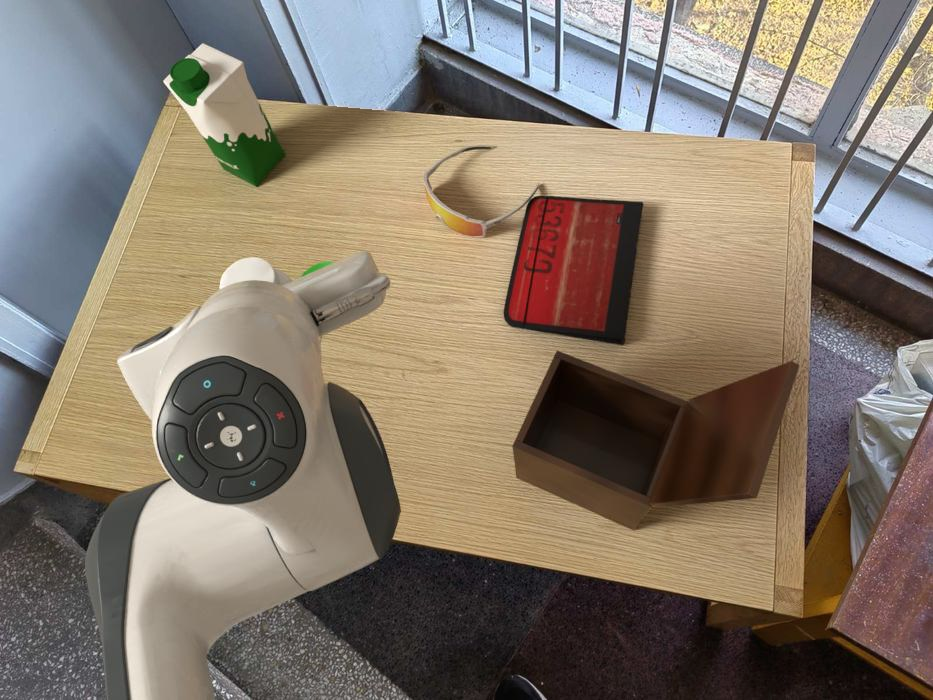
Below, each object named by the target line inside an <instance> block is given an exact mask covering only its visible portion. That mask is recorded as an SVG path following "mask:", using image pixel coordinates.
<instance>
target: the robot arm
mask: <svg viewBox="0 0 933 700" xmlns="http://www.w3.org/2000/svg"><path fill="white" fill-rule="evenodd" d="M333 262H334V263H332V264H330V265H327V266H325V267H323V268H321V269H319V270H316V271H314V272H312V273H310V274H307V275H305V276H303V277H301V276H300V277H299V278H296V279H294V280H292V282H289V283H287V284H285V285H283V286H281V285H278V284H276V283H272V282H268V281H260V280H248V281H241V282H237V283H234V284H231V285H228V286H226V287H224V288H222V289H220V288H219V289H218V290H217V291H215V292H214V293H213V294H212V295H210V297H208V299H206V300H205V302H203V304H202V305H198V306H195V307H194V308H193V309H192V310H190V312H189V313H187V314H186V316H184V317H182V318H181V320H179V321H178V322H176V323H175V324H174V325H172V326H168V327H167V328H165V329H163V330H162V331H160V332H159V333H156V334H155V335H153V336H150V337H149V338H147V339H145V340H143V341H141V342H138V343H137V344H136V345H134V346H133V347H131V348H128V349H126V350H125V351H123V353H122V354H120V356H119V357H118V358H117V359H116V363H117V366H118V368H119V370H120V372H121V374H122V376H123V378H124V380H125V383H126V385H127V386H128V388H129V389H130V391H131V393H132V395H133V396H134V398H135V399H136V401H137V403H138V404H139V406H140V407H141V409H142V410H143V412H144V414H146V416H147V417H148V418H149V419H150V423H151V435H152V442H153V446H154V451H155V454H156V457H157V459H158V462H159V463H160V465H161V467H162V469H163V470H164V472H165V473H166V474H167V476H168V477H169V478H165V479H163V480H160V481H158V482H153V483H152V484H148V485H146V486H142V487H140V488H136V489H133V490H130V491H127V492H124V493H122V494H120V495H118V496H116V497H115V498H114V499H113V500H112V501H111V502H110V503H109V504H108V506H107V508H106V510H105V511H104V513H103V514H102V516H101V518H100V520H99V522H98V524H97V525H96V527H95V529H94V531H93V532H92V533H93V534H92V536H91V538H90V541H89V543H88V547H87V550H86V554H85V559H84V562H85V563H84V569H85V580H86V585H87V589H88V590H87V591H88V593H89V599H90V603H91V605H92V609H93V613H94V617H95V621H96V624H97V628H98V632H99V636H100V641H101V650H102V662H103V672H104V682H105V694H106V700H216V695H215V691H214V690H215V689H214V686H213V682H212V678H211V677H212V676H211V673H210V668H209V664H208V659H207V658H208V657H207V655H208V653H209V651H210V650H211V648H212V647H213V645H214V644H215V643H216V642H217V641H218V640H219V639H220V638H221V637H222V636H223V635H224V634H225V633H226V632H228V631H229V630H231V629H232V628H233V627H235V626H236V625H237V624H240V623H242V622H243V621H246V620H248V619H251V618H252V617H254V616H257V615H259V614H261V613H264V612H266V611H268V610H270V609H272V608H275V607H276V606H280V605H281V604H283V603H286V602H288V601H291V600H292V599H294V598H297V597H299V596H301V595H304V594H306V593H308V592H313V591H315V590H318V589H321V588H322V587H324V586H326V585H329V584H331V583H333V582H335V581H338V580H340V579H343V578H344V577H346V576H347V577H348V576H349V575H350V574H353V573H355V572H357V571H359V570H361V569H363V568H365V567H367V566H370V565H371V564H373V563H375V562H376V561H378V560H382V559H383V557H384V556H385V555H386V553H387V551H388V550H389V548H390V546H391V544H392V542H393V539H394V536H395V533H396V530H397V528H398V523H399V520H400V516H401V512H402V509H401V507H402V506H401V502H400V498H399V495H398V491H397V488H396V484H395V481H394V476H393V472H392V468H391V464H390V459H389V456H388V453H387V450H386V446H385V444H384V441H383V438H382V436H381V433H380V431H379V429H378V426H377V425H376V423H375V421H374V418H373V416H372V415H371V413H370V412H369V410H368V408H367V406H366V405H365V404H364V402H363V401H362V400H361V398H359V397H358V396H356V395H355V394H354V393H352V392H351V391H349V390H347V388H344V387H343V386H341V385H339V384H336V383H334V382H331V381H329V382H325V377H324V376H325V375H324V372H323V368H322V341H320V336H322V337H324V336H325V335H327V334H330V333H331V332H333V331H336V330H338V329H340V328H343V327H344V326H347V325H349V324H351V323H354V322H355V321H358V320H361V319H362V318H364V317H366V316H368V315H370V314H371V313H373V312H375V311H376V310H378V309H379V308H380V307H381V306H382V305H383V303H384V302H385V299H386V294H387V290H388V289H389V290H390V288H391V279H390V278H389V277H388V275H387V274H386V273H385V272H380V270H379V268H378V266H377V264H376V262H375V260H374V258H373V256H372V254H371V252H370V251H368V250H362V251H358V252H355V253H353V254H350V255H348V256H346V257H343V258H341V259H338V260H337V261H333Z"/></svg>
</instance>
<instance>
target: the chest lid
mask: <svg viewBox="0 0 933 700" xmlns="http://www.w3.org/2000/svg"><path fill="white" fill-rule="evenodd" d="M799 369H800V365H799V364H798V363H796V362H795V361H793V360H790V361H787V362H785V363H782V364H779V365H777V366H774V367H771V368H768V369H766V370H763V371H760V372H758V373H755V374H752V375H750V376H747V377H745V378H742V379H739V380H736V381H734V382H731V383H728V384H725V385H723V386H721V387H718V388H715V389H712V390H710V391H707V392H703V393H702V394H699V395H695V396H694V397H691V398H688V400H687V401H688V403H687V405H686V408H685V411H684V413H683V416H682V419H681V421H680V424H679V427H678V429H677V432H676V435H675V437H674V440H673V442H672V445H671V448H670V450H669V453H668V456H667V458H666V461H665V464H664V466H663V469H662V472H661V474H660V477H659V479H658V482H657V485H656V487H655V490H654V493H653V495H652V498H651V501H650V503H649V504H650V505H652V507H654V508H656V509H657V508H667V507H679V506H688V505H689V506H690V505H700V504H708V503H709V504H710V503H720V502H730V501H741V500H742V501H743V500H753V499H757V498H758V497H759V493H760V491H761V487H762V484H763V480H764V477H765V476H766V475H765V474H766V471H767V468H768V465H769V462H770V459H771V456H772V452H773V450H774V446H775V443H776V440H777V438H778V434H779V431H780V428H781V425H782V422H783V418H784V415H785V412H786V409H787V406H788V403H789V400H790V397H791V394H792V391H793V388H794V384H795V382H796V378H797V375H798V373H799Z"/></svg>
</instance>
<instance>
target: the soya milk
mask: <svg viewBox="0 0 933 700" xmlns="http://www.w3.org/2000/svg"><path fill="white" fill-rule="evenodd" d="M244 64H245V63H244V62H243V61H241V60H240V59H237V58H235V57H233V56H231V55H229V54H227V53H225V52H223V51H221V50H218V49H216V48H214V47H212V46H210V45H208V44H206V43H204V42H203V43H201V44H200V45H199V46H198V47H197V48H196V49H195V50H194V51H193V52H192V53H190V54H188V55H187V56H185V58H181V59H179V60H178V61H176V62H175V63H174V64H173V65H171V67H170V70H169V74H168V75H167V76H166V77H165V78H164V80H162V81H163V84H164V85H165V86H166V87H167V89H168V90H169V91H170V93H171V94H172V95H173V97H174V98H175V99H176V100H177V102H178V103H179V105H181V107H182V108H183V109H184V110H185V112H186V113H187V115H188V116H189V118H190V120H191V121H192V123H193V124H194V125H195V128H196V129H197V131H198V132H199V133H200V135H201V136H202V138H203V140H204V141H205V143H206V145H207V147H209V149H210V151H211V152H212V154H213V155H214V157H215V158H216V160H217V161H218V163H219V165H220V166H221V167H222V169H223V170H224V171H226V172H227V173H229V174H232V175H233V176H235V177H236V178H238V179H241V180H242V181H244V182H246V183H248V184H250V185H251V186H254V187H255V188H258V186H259V185H260V184H261V183H262V182H263V180H264V179H266V177H267V176H268V175H269V174H270V173H271V172H272V170H273V169H274V168H275V167H276V166H277V165H278V164H279V163H280V162H281V161H282V160H283V159H284V158H285V156H286V152H285V150H284V148H283V146H282V145H281V143H280V141H279V139H278V137H277V135H276V133H275V132H274V129H273V127H272V126H271V123H270V122H269V120H268V118H267V116H266V113H265V112H264V109H263V107H262V106H261V104H260V101H259V99H258V98H257V96H256V94H255V92H254V89H253V87H252V86H251V83H250V82H249V79H248V76H247V72H246V68H245V65H244Z"/></svg>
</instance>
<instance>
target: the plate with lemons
mask: <svg viewBox="0 0 933 700" xmlns="http://www.w3.org/2000/svg"><path fill="white" fill-rule="evenodd" d="M334 262H335V261H323V262H319V263H316V264H313V265H312V266H310V267H309V268H307V270H305V271H304V272H303V273H302V275H301V276H300V278H301V277H303V276H305V275H307V274H310V273H312V272H314V271H316V270H319V269H321V268H323V267H325V266H327V265H330V264H332V263H334Z"/></svg>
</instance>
